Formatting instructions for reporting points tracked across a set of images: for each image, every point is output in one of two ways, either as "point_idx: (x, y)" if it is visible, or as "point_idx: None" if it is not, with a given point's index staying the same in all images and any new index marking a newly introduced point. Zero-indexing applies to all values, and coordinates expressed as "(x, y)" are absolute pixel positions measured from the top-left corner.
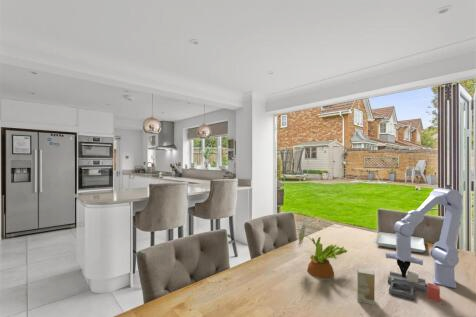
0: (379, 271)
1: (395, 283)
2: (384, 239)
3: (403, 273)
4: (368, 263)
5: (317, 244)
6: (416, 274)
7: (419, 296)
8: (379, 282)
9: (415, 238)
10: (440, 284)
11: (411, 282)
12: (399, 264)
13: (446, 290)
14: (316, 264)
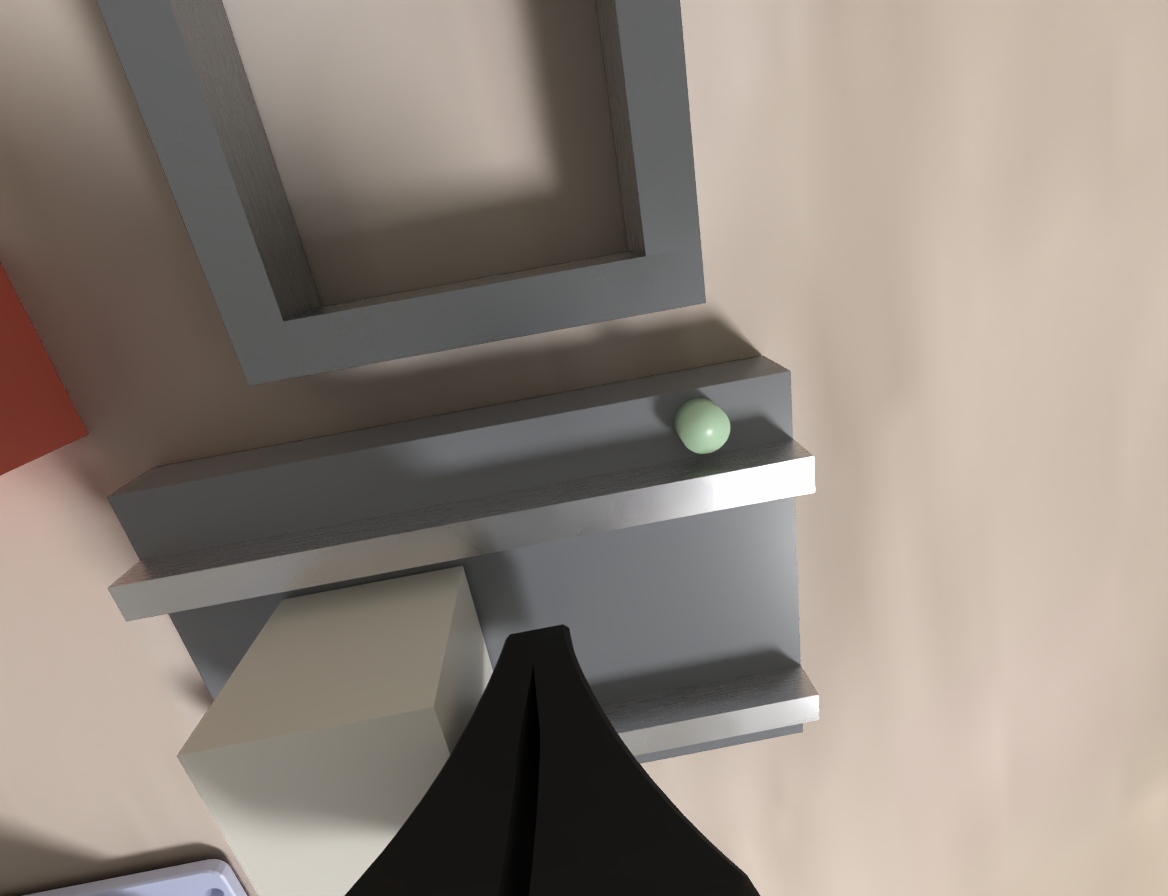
0: (945, 692)
1: (607, 264)
2: None
3: (535, 680)
4: (1111, 820)
5: None
6: (231, 785)
7: (128, 214)
8: (897, 260)
9: None
10: (139, 876)
11: (357, 538)
12: (659, 882)
13: (7, 777)
14: None
